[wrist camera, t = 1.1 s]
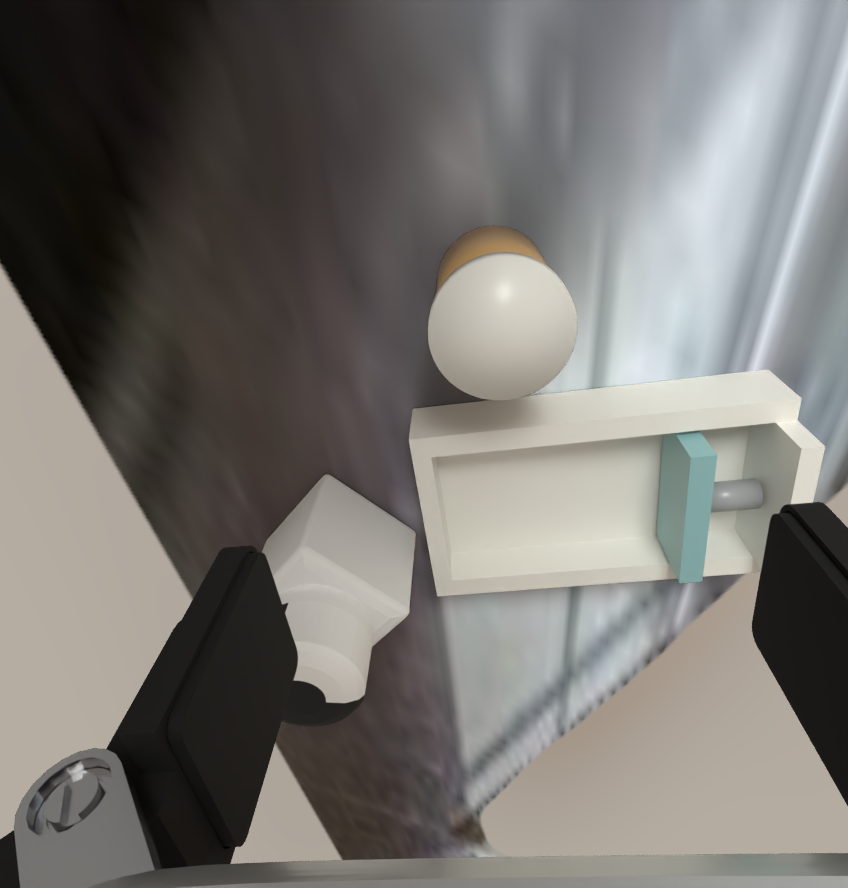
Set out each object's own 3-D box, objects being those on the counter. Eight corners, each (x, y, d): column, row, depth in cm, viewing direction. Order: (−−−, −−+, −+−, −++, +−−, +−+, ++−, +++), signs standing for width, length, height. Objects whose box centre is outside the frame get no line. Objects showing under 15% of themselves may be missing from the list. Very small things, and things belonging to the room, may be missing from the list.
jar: (425, 230, 28) (417, 269, 22) (547, 212, 28) (576, 247, 21) (441, 343, 31) (438, 407, 25) (552, 330, 31) (578, 392, 24)
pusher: (664, 417, 31) (691, 457, 28) (749, 408, 31) (787, 448, 27) (656, 534, 35) (679, 583, 32) (731, 528, 35) (763, 577, 31)
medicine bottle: (353, 592, 41) (319, 761, 30) (265, 539, 39) (196, 701, 28) (418, 531, 38) (405, 694, 27) (326, 469, 36) (275, 621, 25)
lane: (412, 408, 33) (405, 465, 28) (767, 369, 31) (830, 423, 26) (438, 557, 39) (436, 628, 34) (742, 532, 37) (789, 604, 31)
